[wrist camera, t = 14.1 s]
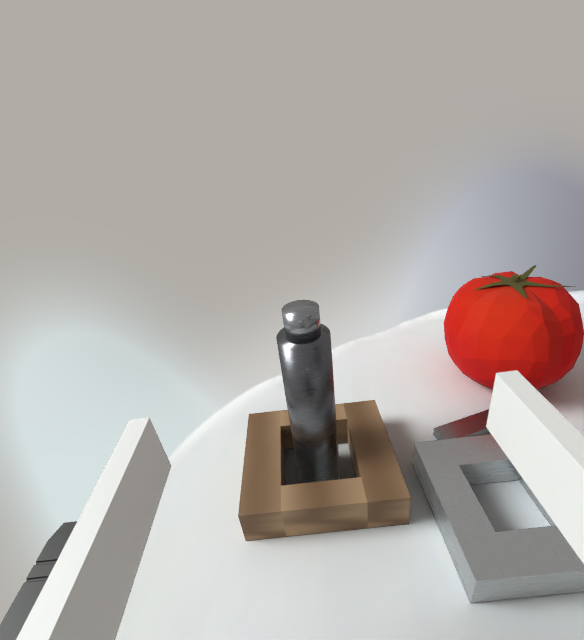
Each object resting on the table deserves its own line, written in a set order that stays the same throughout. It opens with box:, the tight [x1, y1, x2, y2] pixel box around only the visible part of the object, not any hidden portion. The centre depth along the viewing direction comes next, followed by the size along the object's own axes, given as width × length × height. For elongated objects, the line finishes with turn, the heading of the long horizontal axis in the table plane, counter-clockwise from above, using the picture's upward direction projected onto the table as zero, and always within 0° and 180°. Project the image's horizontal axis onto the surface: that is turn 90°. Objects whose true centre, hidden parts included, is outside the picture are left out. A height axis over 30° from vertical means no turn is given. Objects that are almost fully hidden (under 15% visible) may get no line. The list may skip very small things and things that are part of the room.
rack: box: [238, 400, 411, 541], centre depth 29 cm, size 12×10×3 cm
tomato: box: [444, 266, 584, 389], centre depth 35 cm, size 12×13×12 cm
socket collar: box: [413, 434, 584, 603], centre depth 24 cm, size 10×10×2 cm
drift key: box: [433, 409, 490, 440], centre depth 32 cm, size 8×2×1 cm, turn 107°
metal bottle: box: [277, 300, 340, 484], centre depth 26 cm, size 4×4×16 cm
